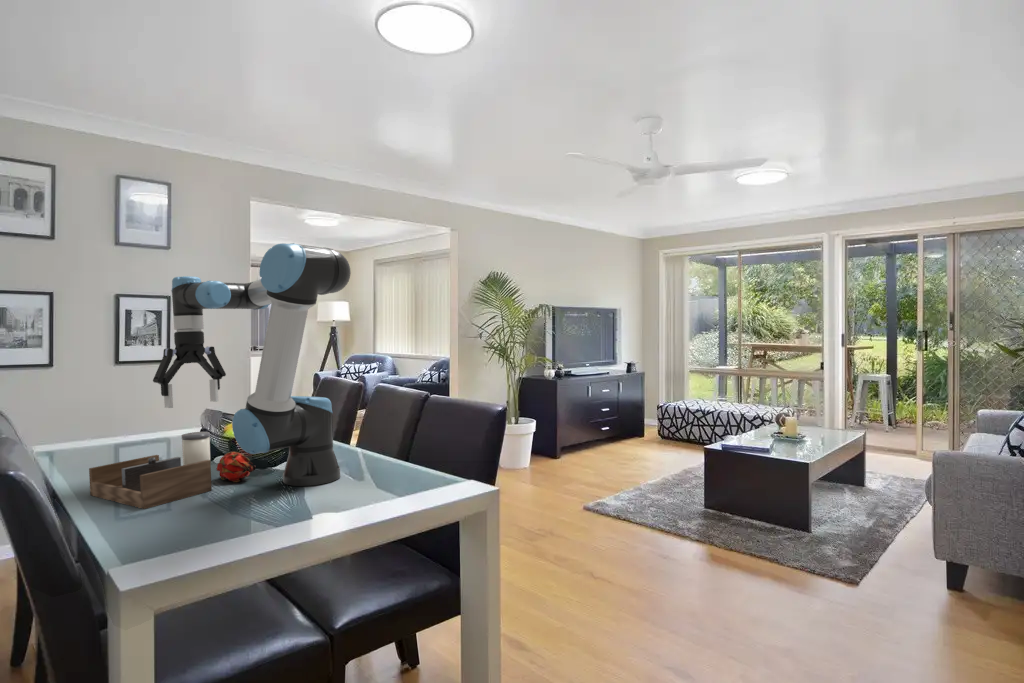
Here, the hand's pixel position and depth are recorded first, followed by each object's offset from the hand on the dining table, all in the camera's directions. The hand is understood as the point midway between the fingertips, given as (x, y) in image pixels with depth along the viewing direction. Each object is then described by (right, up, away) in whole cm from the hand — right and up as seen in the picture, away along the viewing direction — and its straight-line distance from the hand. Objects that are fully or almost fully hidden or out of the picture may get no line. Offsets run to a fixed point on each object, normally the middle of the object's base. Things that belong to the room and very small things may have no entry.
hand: (192, 404), depth 171 cm
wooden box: (-1, -21, -17) cm, 27 cm away
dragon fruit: (+15, -21, -5) cm, 26 cm away
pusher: (-1, -20, -18) cm, 27 cm away
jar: (+1, -21, 0) cm, 21 cm away
